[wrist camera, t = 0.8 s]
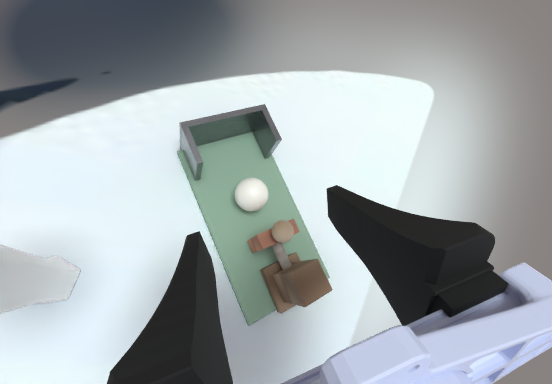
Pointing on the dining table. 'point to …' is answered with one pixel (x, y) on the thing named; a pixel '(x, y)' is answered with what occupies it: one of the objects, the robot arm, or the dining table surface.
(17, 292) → the perfume bottle
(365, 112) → the dining table surface
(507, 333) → the robot arm
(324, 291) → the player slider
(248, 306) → the pitch mat
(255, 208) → the ball
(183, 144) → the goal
